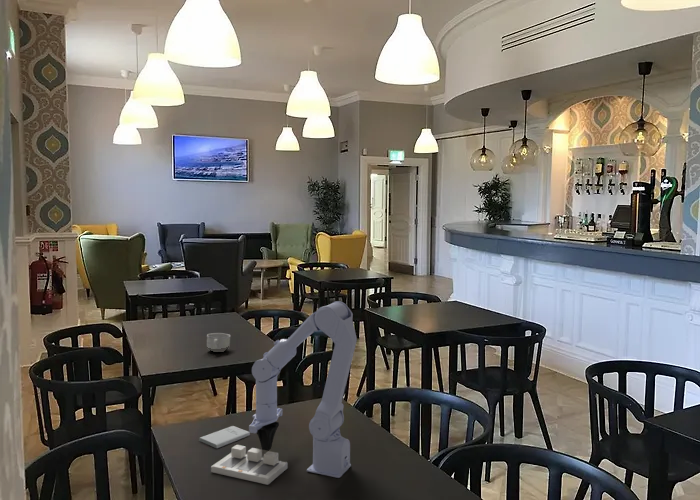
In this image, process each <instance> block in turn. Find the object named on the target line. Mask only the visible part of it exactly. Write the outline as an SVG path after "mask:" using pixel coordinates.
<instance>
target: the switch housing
mask: <svg viewBox="0 0 700 500" xmlns="http://www.w3.org/2000/svg"><path fill="white" fill-rule="evenodd" d="M288 468H289V466H288V462H287V461H282V460H278V463H276V464H275V465H269V464H264V456H262V459H261V460H259V461H258V462H255V461H250V460H247V453H246V455H245V456H244V457H243V458H241V459H240V458H235V457H231V452H230V453H229V454H227V455H225V456H224V457H223V458H222V459H219V460H218V461H217V462H215V463H214V464H213V465H211V466H210V472H211V473H214V474H218V475H222V476H223V475H224V476H227V477H232V478H236V479H240V480H245V481H250V482H254V483H258V484H263V485H267V486H268V485H270V484H271V483H273V481H274V480H275V479H276V478H278V477H279V476H280V475H281V474H283V473H284V471H286V470H287V469H288Z"/></svg>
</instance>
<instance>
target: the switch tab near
mask: <svg viewBox="0 0 700 500" xmlns="http://www.w3.org/2000/svg"><path fill="white" fill-rule="evenodd" d="M263 458H264V464H269V465H275V464H276V463H278V461H279V452H275V451H271V450H269V451H267V452H265V453H263Z"/></svg>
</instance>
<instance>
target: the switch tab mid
mask: <svg viewBox="0 0 700 500" xmlns="http://www.w3.org/2000/svg"><path fill="white" fill-rule="evenodd" d="M246 454H247V460H250V461H255V462H258V461H259V460H261V459H262V457H263V450H262V448H261V449H260V448H257V447H256V448H255V447H251V448H250V449H248V450H246Z"/></svg>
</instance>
